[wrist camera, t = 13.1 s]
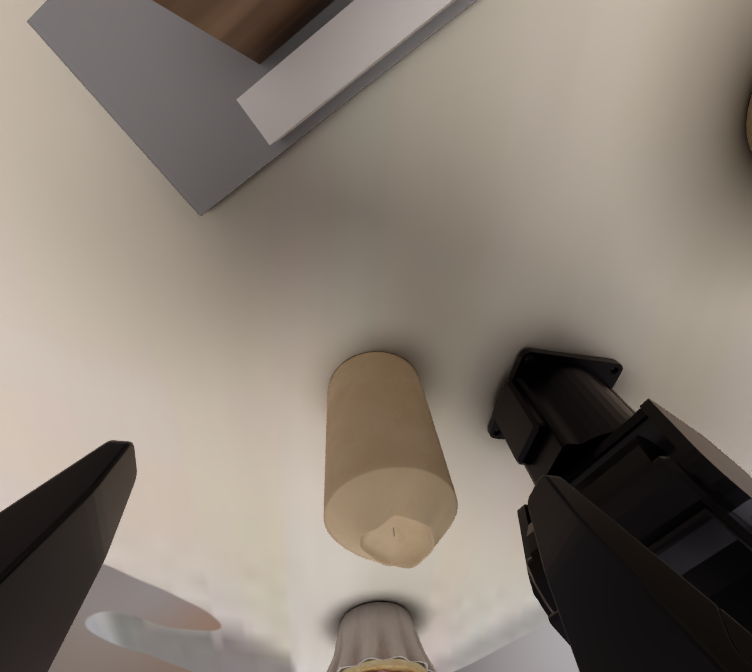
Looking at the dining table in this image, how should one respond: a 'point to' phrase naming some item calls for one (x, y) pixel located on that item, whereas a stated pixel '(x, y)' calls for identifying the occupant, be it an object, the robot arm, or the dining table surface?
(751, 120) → the plant pot
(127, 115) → the board
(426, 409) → the candle
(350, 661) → the cupcake
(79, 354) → the dining table surface
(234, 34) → the door
